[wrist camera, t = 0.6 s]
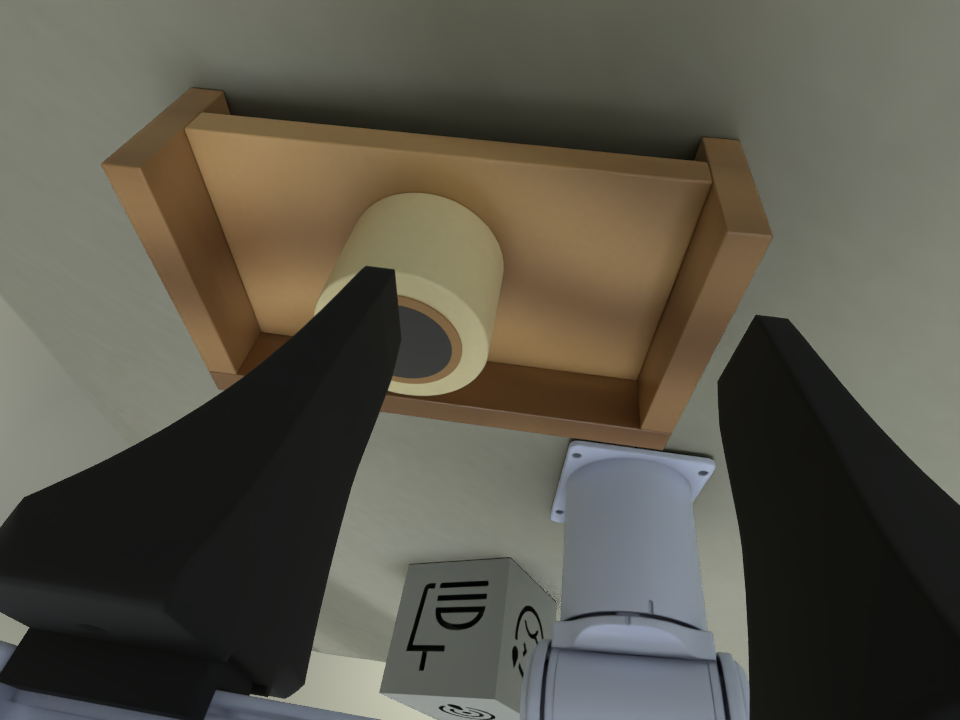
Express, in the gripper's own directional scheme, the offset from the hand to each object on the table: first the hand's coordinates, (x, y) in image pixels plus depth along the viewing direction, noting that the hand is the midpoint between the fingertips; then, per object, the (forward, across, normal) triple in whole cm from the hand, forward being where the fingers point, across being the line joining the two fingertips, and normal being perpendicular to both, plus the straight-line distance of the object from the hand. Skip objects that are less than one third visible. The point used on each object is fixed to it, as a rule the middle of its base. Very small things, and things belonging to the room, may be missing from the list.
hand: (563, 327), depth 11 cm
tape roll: (+7, +4, +4) cm, 9 cm away
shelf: (+10, +4, +5) cm, 11 cm away
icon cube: (+10, +1, +43) cm, 44 cm away
